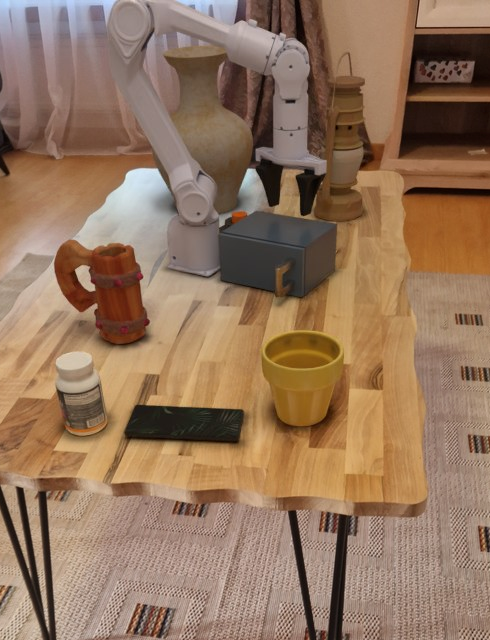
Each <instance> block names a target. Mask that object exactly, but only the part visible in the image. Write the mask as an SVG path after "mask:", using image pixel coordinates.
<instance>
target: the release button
mask: <svg viewBox="0 0 490 640" xmlns="http://www.w3.org/2000/svg"><path fill="white" fill-rule="evenodd" d="M247 216H248V212H246V211H244V210H238V211H237V210H236V211H233V212H232V213H231V217H232V223H234V224H235V223H237V222H238V221H240V220H242V219H243V218H245V217H247Z"/></svg>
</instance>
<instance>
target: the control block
mask: <svg viewBox="0 0 490 640" xmlns="http://www.w3.org/2000/svg"><path fill="white" fill-rule="evenodd" d="M233 224H234V223H232V216H229V217H227V218H225V219H224V224H223V225H220V226H219V230H220V233H222V231H224V230H225V229H227V228H228V227H230V226H232V225H233Z"/></svg>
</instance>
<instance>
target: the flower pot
mask: <svg viewBox="0 0 490 640" xmlns="http://www.w3.org/2000/svg"><path fill="white" fill-rule="evenodd" d="M260 351H261V353H260V356H261V369H262V372H261V373H262V375H263V378H264V379H265V381H266V382H268V384H269V389H270V392H271V396H272V400H273V404H274V407H275V408H274V409H275V412H276V416H277V418H278V419H279V420H280V421H281V422H283V423H284V424H286V425H288V426H293V427H309V426H313V425H316V424H319V423H320V422H322V421H323V420H324V419H325V417H326V416H327V414H328V411H329V407H330V402H331V400H332V397H333V394H334V390H335V387H336V383H337V382H339V380H340V379H341V377H342V376H343V371H344V362H345V348H344V345H343V344H342V343H341V341H340V340H339V339H338V338H336V337H335V336H333V335H331V334H329V333H325V332H321V331H318V330H310V329H309V330H308V329H299V330H298V329H296V330H290V331H285V332H280V333H278V334H275V335H273V336H272V337H270V338H269V339H267V340H266V342H264V344H263V345H262V347H261V350H260Z"/></svg>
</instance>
